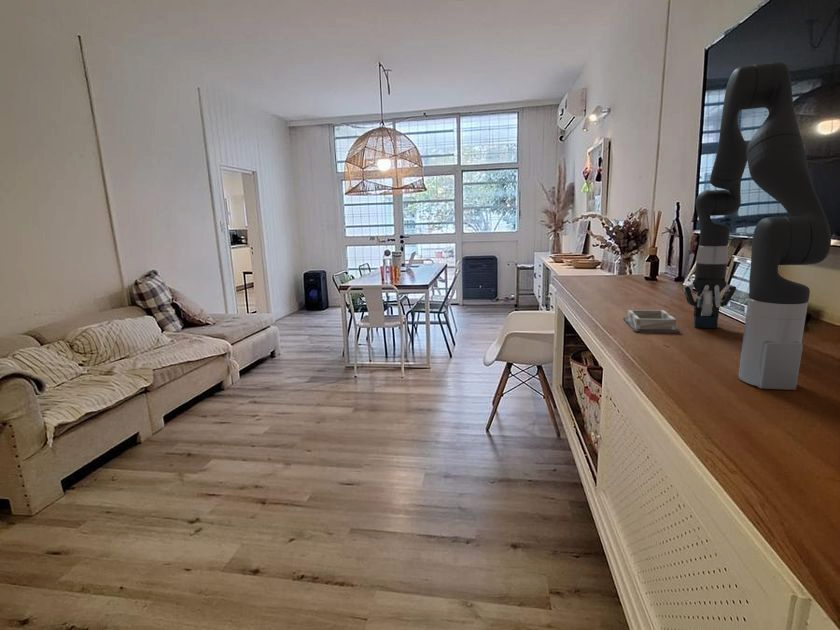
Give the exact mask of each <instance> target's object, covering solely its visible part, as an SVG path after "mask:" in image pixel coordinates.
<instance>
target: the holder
mask: <svg viewBox="0 0 840 630" xmlns="http://www.w3.org/2000/svg"><path fill="white" fill-rule="evenodd" d="M623 319H624V320H623ZM622 320H623V321H624V322H625V323H626V324H627V326H630V327H631V328H632V329H633V330H634V331H633V330H632V329H631V328H630V329H631V330H632V331H633V333H635V332H653V333H652V334H681V330H680V329H678V328H677V318H675V317H673V316H672V315H671V314H670V313H668V312H667V311H665V309H627V312H626V317H623V318H622Z"/></svg>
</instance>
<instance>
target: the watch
mask: <svg viewBox="0 0 840 630" xmlns="http://www.w3.org/2000/svg"><path fill="white" fill-rule="evenodd" d="M703 296H704V301H703V303H702V306H701V308H702V311H701V317H698V316H696V317H694V316H693V326H694V328H701V329H702V328H705V329H707V328H708V329H711V328H712V329H717V328H718V322H719V320H718V319H719V316H718V317H717V316H712V317H711V313H712V306H713V304H712V291H707V292H704V293H703ZM694 299H696V295H694Z"/></svg>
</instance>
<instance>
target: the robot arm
mask: <svg viewBox="0 0 840 630" xmlns="http://www.w3.org/2000/svg"><path fill="white" fill-rule="evenodd" d="M725 88H726V89H725V94H724V99H723V106H722V114H721V121H720V128H719V137H718V146H717V151H716V154H715V155H716V156H715V160H714V163H713V167H712V170H711V174H710V177H709V183H710V184H711V186H713V187H715V188H716V189H714V190H712V189H710V190H704V191H702V192H700V193H698V196H697V197H696V199H695V209H696V214H697V218H698V222H699V224H698V225H699V241H698V249H697V252H696V253H697V254H696V257H695V261H696V262H695V272H694V273H695V274H694V280H693V281H692V283H690V284H688V285H686V284H685V285H683V286H682V291H683V293H684V296H685V299H686V302H687V304H688V305H689V306H693V318H694V317H696V316H698V317H701V311H702V308H701V306H702V303H703V301H704V296H703V293H704V292H707V291H712V313H711V317H712V316H717V317H718V318H719V317H720V315H719V314H720V313H719V312H720V308H721V307H722V306H728V304H729V302H730V301H731V299H732V297H733V296H734V294H735V292H736V290H737V287H736V286H735V285H733V284H732V285H731V284H727V281H726V278H727V268H728V260H729V241H730V240H729V239H730V231H731V230H730V226H729V225H728V224H723V223H716V222H714V221H713V220H712V218H711V216H713V217H716V216H718V217H719V216H732V215H734V214H735V213H736V212H738V211H739V209H740V208H741V204H742V195H741V183H742V178H743V175H744V172H745V168H746V166H748V171H749V175H750V177H751V179H752V181H753V182H754V183H755V184H756V186H758V187H759V188H760V189H761V190H763V191H764V192H765V193H767V194H768V195H769V196H770V197H772V198H773V199H774V200H776V202H778V203H779V204H781V206H782V207H783V208H784V209H785V212H787V216H770V217H764V218H762V219H761V220H759V221H758V223H757V224H756V226H755V228H754V231H753V235H752V238H751V239H752V242H751V252H750V253H751V254H750V255H751V258H750V270H749V283H748V284H749V285H748V287H749V288H748V291H749V292H748V297H747V304H746V305H747V306H746V313H745V321H744V330H743V334H742V335H743V337H742V342H741V343H742V344H741V354H740V361H739V370H738V379H739V380H741V381H742V382H744V383H746V384H749V385H752V386H756V387H757V388H758V389H765V390H768V389H769V390H786V391H787V390H793V391H795V390H797V383H798V378H799V372H800V371H799V370H800V366H801V361H802V360H801V359H802V354H803V348H804V347H803V346H804V344H803V343H802V342H803V337H804V336H803V335H804V329H805V323H806V317H807V314H808V313H807V312H808V304H809V299H810V295H811V294H810V293H811V291H810V290H811V289H810V288H809V287H808V285H805V284H803V283H801V282H796V281H793V280H789V279H787V278H784V277H783V276H781V275H780V274H779V266H807V265H817V264H819V263H821V262H823V261H824V260H825V259H826V258H827V257H828V256H829V253H830V251H831V247H832V235H831V228H830V224H829V221H828V219H827V216H826V214H825V211H824V209H823V207H822V205H821V202H820V199H819V197H818V195H817V191H816V189H815V187H814V184H813V181H812V180H813V179H812V177H811V173H810V168H809V165H808V159H807V154H806V151H805V146H804V141H803V138H802V135H801V133H800V128H799V126H798V122H797V121H798V120H797V117H796V112H795V107H794V105H795V104H794V99H793V97H794V95H793V88H792V79H791V72H790V70H789V67H788V65H787V64H786V63H784V62H782V61H773V62H772V61H771V62H766V63H765V62H764V63H757V64H749V65H743V66H739V67H736V69H734V70H733V71H732V73H731V74H730V76H729V78H728V81H727V85H726V87H725ZM760 108H761V109H762V108H765V109H766V110H767V111H768V115H767V117H766V119H765V120H764V122H763V123H762V124H761V125H760V127H759V128H758V129H757V131H755V133H754V134H753V136H752V137H751V139H750V141H749V142H748V144H747V143H746V140H745V138H744V137H743V134H742V132H741V130H740V127H739V121H738V119H739V113H740V111H744V110H752V109H753V110H754V109H760ZM717 188H718V189H717ZM693 289H694V290H695V291H696V294H695V296H696V298H694V296H693V294H692V293H693V291H694V290H693ZM722 291H724V293H723V295H722V296H721V292H722Z"/></svg>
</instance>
